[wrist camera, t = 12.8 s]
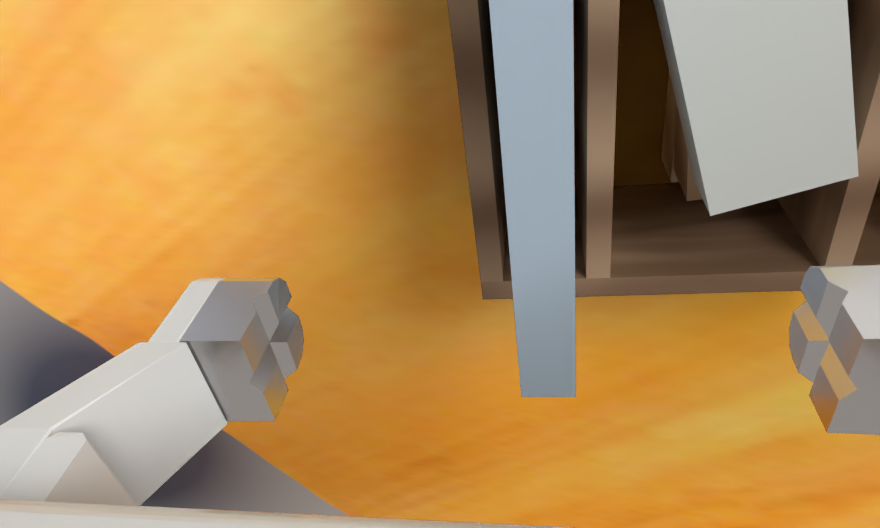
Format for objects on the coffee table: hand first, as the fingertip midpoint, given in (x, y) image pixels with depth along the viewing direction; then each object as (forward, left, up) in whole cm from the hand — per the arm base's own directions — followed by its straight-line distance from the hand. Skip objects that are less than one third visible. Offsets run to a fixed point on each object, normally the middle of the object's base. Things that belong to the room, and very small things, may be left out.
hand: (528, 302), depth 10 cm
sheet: (+1, 0, -22) cm, 22 cm away
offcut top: (0, +7, -16) cm, 18 cm away
